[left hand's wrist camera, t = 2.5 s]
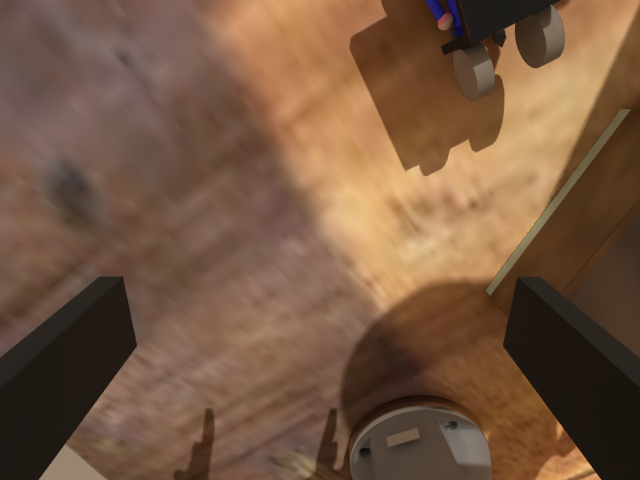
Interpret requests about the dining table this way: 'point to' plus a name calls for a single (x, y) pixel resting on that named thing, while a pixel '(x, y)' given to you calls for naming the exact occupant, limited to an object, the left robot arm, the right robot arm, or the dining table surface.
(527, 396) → the dining table surface
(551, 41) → the figurine character
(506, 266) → the wooden chest box
